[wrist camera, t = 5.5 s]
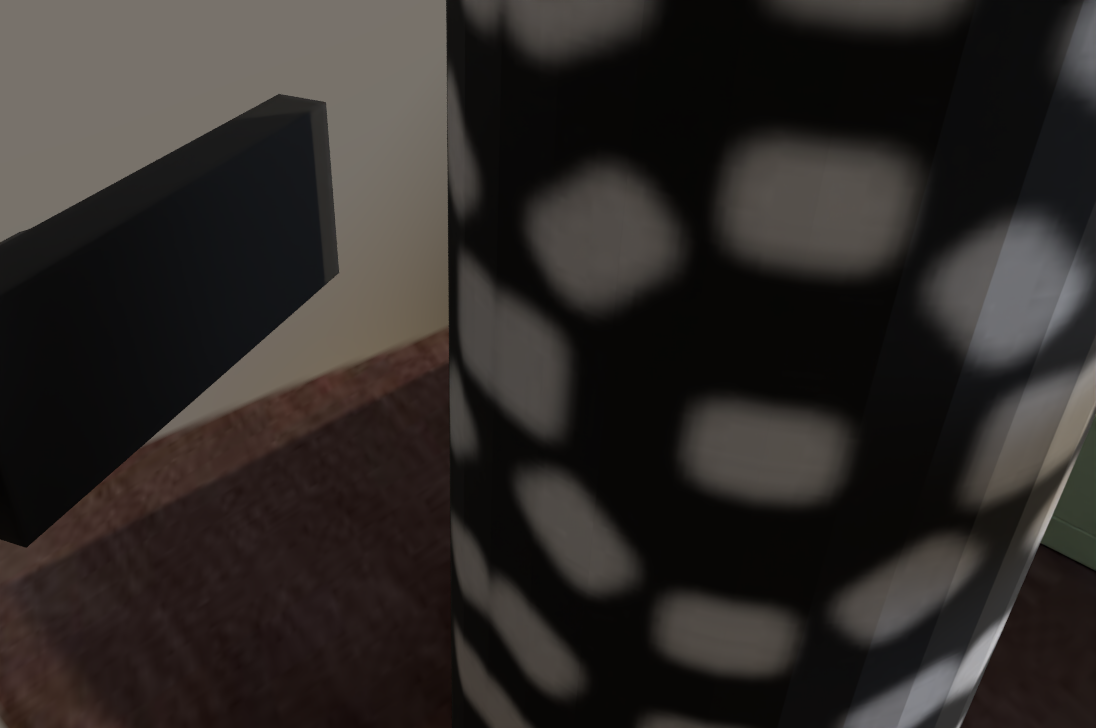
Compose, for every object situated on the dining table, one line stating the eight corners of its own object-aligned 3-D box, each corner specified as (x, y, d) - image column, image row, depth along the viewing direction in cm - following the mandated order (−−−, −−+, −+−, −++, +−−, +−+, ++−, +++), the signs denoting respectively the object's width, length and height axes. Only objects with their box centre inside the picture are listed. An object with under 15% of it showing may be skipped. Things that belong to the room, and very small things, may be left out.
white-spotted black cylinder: (866, 681, 23) (1254, -462, 12) (902, 1103, 16) (1931, -712, 5) (506, 615, 24) (546, -485, 13) (393, 981, 17) (267, -714, 6)
